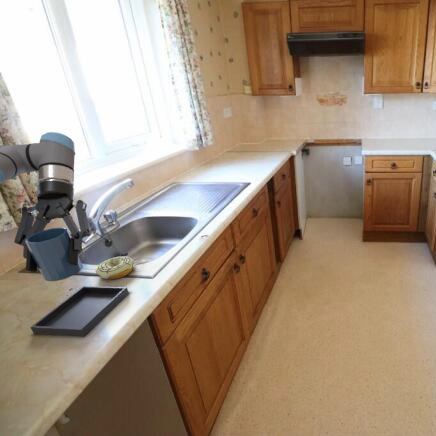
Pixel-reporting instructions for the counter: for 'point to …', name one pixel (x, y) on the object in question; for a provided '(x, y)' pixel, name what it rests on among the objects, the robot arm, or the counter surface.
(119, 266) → the decorated donut
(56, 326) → the serving tray
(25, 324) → the counter surface
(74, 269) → the tea cup
